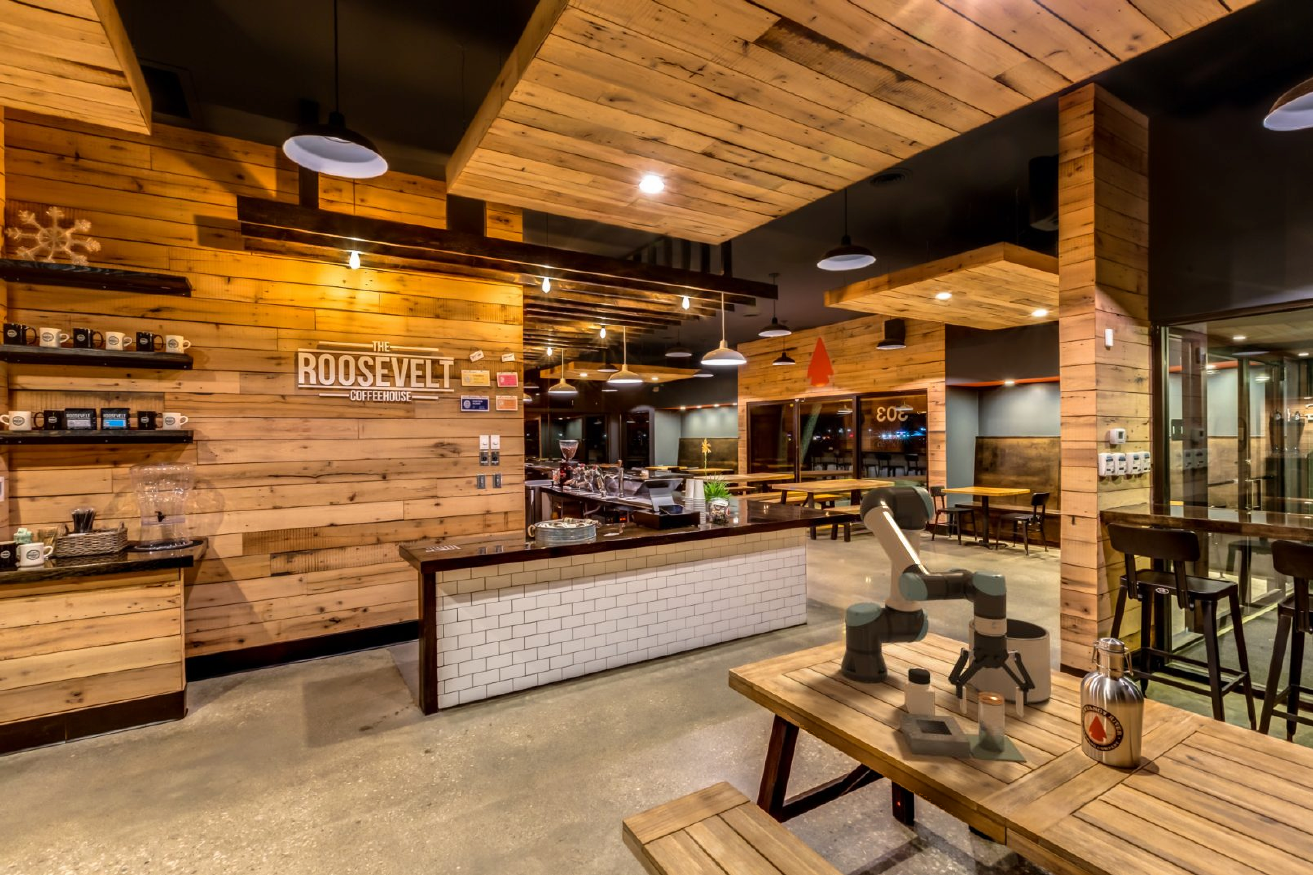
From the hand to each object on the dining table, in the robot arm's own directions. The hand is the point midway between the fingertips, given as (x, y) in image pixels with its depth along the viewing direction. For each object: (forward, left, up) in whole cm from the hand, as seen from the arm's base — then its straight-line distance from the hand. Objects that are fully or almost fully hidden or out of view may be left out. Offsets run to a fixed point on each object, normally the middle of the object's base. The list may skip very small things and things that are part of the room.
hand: (991, 712), depth 157 cm
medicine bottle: (-20, -13, -9) cm, 26 cm away
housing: (-1, -14, -9) cm, 17 cm away
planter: (-38, +18, -10) cm, 43 cm away
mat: (0, 0, -9) cm, 9 cm away
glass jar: (0, 0, -9) cm, 9 cm away
